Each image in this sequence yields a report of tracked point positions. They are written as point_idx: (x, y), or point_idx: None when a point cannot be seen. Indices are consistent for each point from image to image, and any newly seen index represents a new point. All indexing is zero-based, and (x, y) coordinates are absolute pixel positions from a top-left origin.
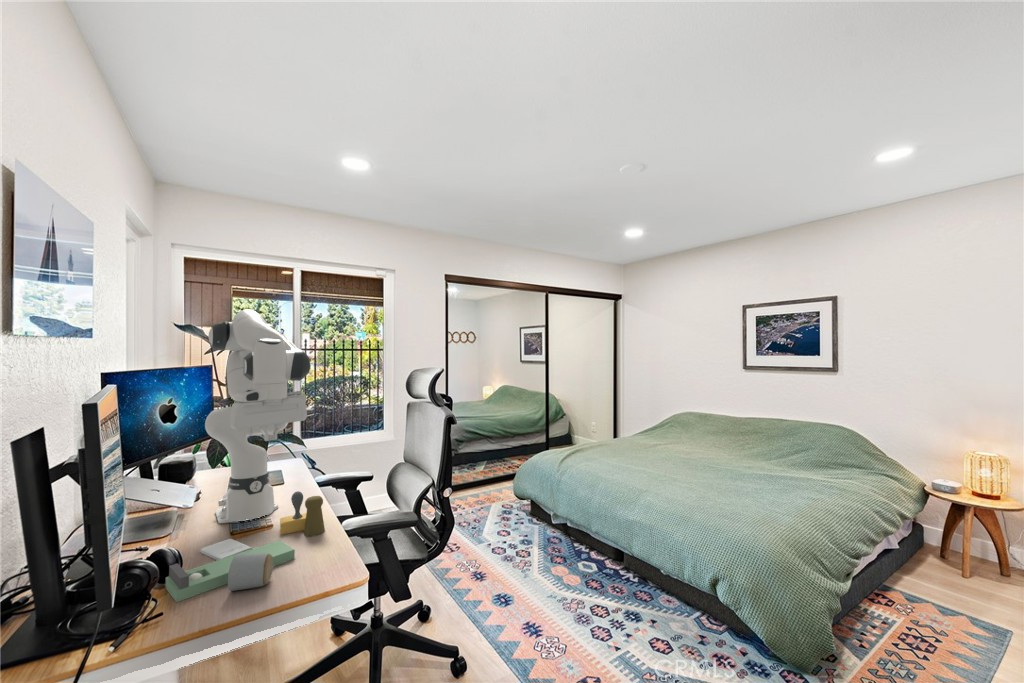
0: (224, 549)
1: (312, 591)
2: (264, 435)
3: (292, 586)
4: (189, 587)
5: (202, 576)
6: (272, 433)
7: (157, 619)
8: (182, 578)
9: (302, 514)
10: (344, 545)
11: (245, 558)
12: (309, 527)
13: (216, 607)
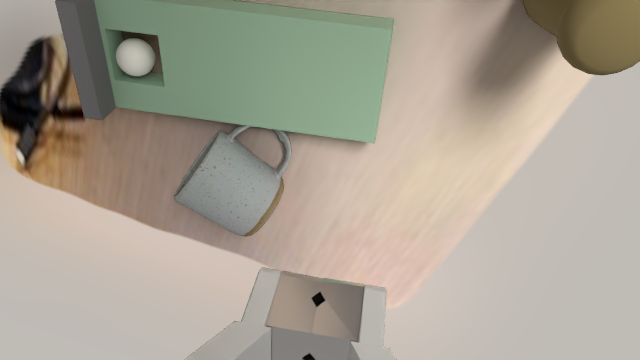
0: None
1: None
2: (244, 317)
3: (298, 235)
4: (118, 106)
5: (150, 65)
6: (350, 342)
7: (76, 128)
8: (89, 117)
9: None
10: (508, 179)
11: (204, 212)
12: (535, 14)
13: (169, 182)
